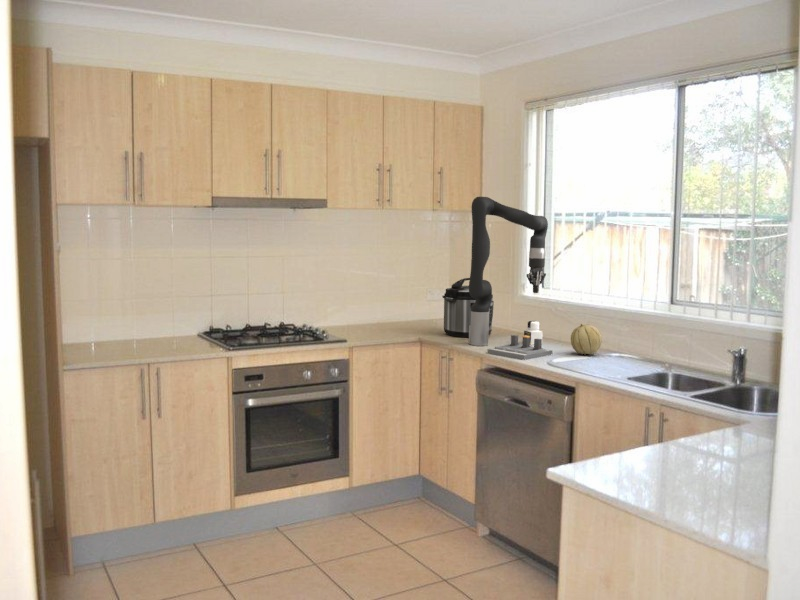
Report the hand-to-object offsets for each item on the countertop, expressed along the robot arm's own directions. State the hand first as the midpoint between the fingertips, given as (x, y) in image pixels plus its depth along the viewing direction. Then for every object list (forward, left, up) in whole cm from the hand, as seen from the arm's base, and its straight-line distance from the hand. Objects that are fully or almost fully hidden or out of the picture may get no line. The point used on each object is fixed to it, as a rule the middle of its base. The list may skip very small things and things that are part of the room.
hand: (535, 292), depth 367 cm
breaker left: (-7, -6, -27) cm, 28 cm away
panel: (0, -11, -29) cm, 31 cm away
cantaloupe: (+21, +13, -29) cm, 38 cm away
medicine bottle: (-14, +18, -29) cm, 37 cm away
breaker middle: (0, -6, -27) cm, 28 cm away
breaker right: (+7, -6, -27) cm, 28 cm away
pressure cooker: (-56, +15, -29) cm, 65 cm away
